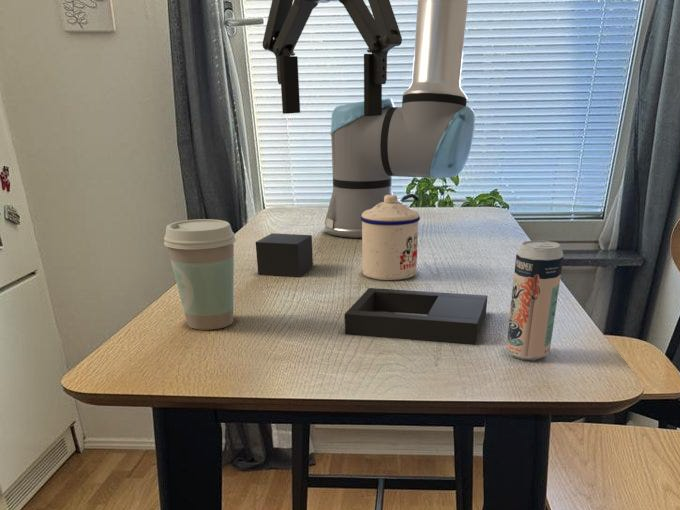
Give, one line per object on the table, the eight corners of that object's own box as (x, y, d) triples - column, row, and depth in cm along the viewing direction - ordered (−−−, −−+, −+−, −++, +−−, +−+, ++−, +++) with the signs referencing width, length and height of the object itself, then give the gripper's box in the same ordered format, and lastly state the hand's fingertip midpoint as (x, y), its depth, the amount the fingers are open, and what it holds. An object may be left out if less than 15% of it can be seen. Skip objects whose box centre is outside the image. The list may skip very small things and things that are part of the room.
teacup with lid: (410, 283, 102) (413, 201, 96) (353, 279, 104) (352, 198, 98) (427, 264, 112) (430, 189, 106) (374, 261, 114) (374, 187, 108)
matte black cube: (273, 264, 113) (271, 233, 110) (313, 266, 111) (311, 235, 109) (258, 274, 107) (255, 242, 104) (299, 276, 105) (297, 244, 103)
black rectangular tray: (368, 305, 92) (368, 287, 91) (485, 314, 88) (487, 295, 87) (344, 333, 82) (344, 313, 81) (475, 344, 78) (477, 323, 77)
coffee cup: (186, 312, 90) (172, 218, 84) (249, 312, 90) (240, 218, 83) (168, 333, 82) (152, 232, 76) (237, 334, 82) (226, 232, 76)
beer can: (500, 348, 77) (512, 240, 71) (540, 346, 78) (555, 238, 71) (512, 363, 73) (525, 250, 67) (554, 361, 74) (571, 248, 67)
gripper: (223, -90, 80) (241, 113, 91) (397, -123, 67) (393, 118, 78) (267, -80, 85) (279, 110, 96) (436, -110, 72) (427, 115, 83)
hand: (330, 114), depth 87 cm, fingers open, 13 cm apart
